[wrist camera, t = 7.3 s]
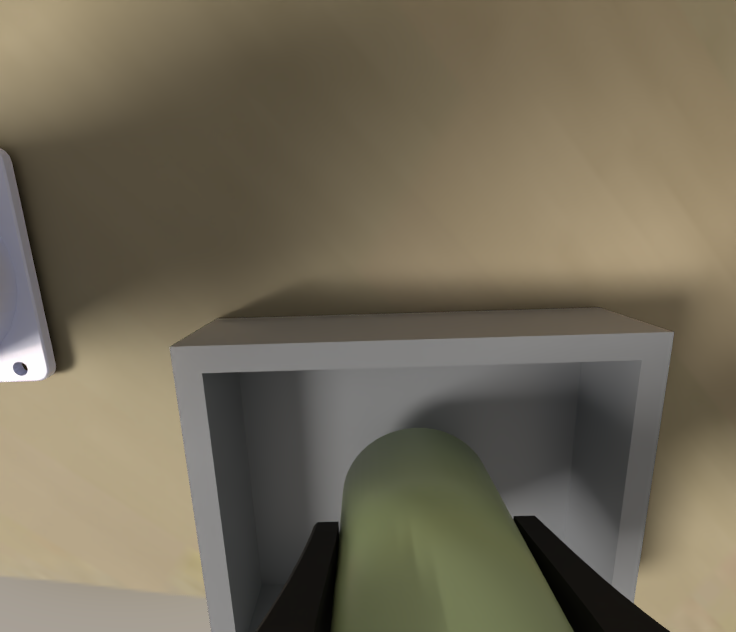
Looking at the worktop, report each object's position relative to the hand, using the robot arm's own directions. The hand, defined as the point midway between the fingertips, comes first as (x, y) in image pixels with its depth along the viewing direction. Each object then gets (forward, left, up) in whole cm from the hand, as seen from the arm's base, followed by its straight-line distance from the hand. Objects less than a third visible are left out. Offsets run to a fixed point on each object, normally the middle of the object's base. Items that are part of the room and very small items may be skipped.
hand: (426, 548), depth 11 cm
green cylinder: (0, 0, -2) cm, 2 cm away
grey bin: (0, 0, -4) cm, 4 cm away
